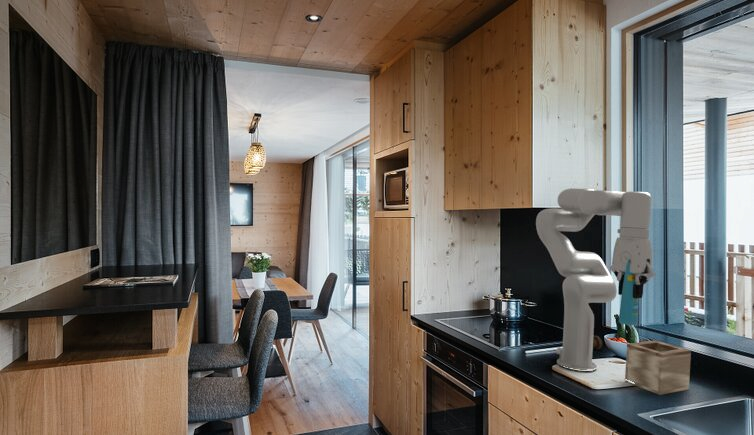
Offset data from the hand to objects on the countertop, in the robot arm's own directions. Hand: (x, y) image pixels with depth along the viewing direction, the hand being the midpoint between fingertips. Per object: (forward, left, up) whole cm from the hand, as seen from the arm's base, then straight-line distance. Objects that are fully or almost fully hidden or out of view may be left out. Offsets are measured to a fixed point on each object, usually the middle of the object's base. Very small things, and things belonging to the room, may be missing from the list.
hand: (630, 295), depth 141 cm
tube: (0, 0, -9) cm, 9 cm away
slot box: (-2, +16, -29) cm, 33 cm away
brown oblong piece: (-38, +26, -29) cm, 54 cm away
